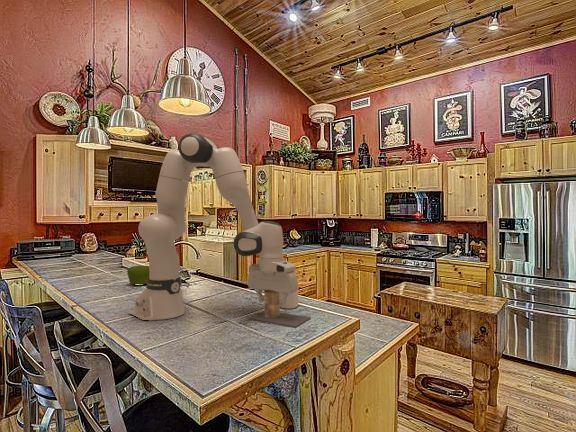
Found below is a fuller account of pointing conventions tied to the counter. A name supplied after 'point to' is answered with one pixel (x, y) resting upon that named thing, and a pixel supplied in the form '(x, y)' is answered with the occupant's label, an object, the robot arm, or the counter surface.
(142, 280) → the green pot
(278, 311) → the maple block
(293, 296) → the beverage can
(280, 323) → the rubber mat
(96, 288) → the counter surface
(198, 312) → the counter surface
